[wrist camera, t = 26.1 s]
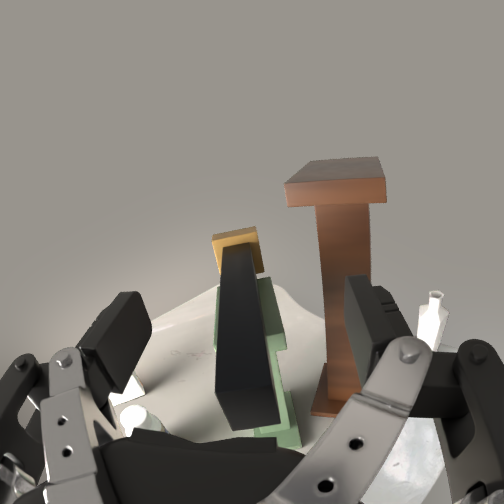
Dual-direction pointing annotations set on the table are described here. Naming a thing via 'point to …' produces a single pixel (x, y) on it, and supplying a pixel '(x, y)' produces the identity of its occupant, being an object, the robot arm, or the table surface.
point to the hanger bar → (242, 335)
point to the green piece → (273, 368)
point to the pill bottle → (140, 419)
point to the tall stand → (339, 256)
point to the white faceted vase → (432, 320)
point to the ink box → (129, 391)
